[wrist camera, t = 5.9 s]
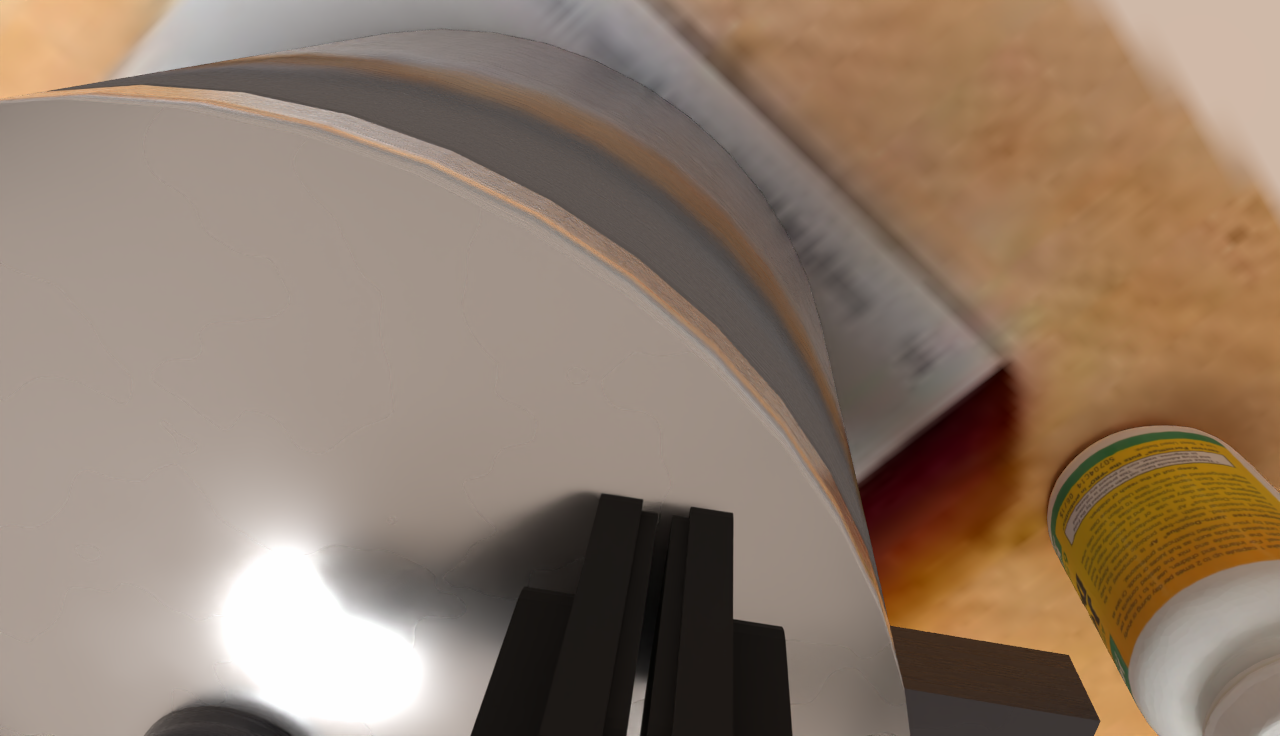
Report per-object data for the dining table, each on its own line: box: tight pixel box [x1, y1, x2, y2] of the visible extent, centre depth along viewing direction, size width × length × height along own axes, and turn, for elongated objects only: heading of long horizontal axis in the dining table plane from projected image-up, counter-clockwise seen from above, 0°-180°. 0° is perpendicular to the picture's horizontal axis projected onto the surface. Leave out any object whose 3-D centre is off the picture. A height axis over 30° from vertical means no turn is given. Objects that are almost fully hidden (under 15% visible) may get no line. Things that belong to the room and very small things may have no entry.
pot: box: [47, 29, 1100, 736], centre depth 21 cm, size 27×20×12 cm
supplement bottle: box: [1047, 425, 1280, 736], centre depth 21 cm, size 5×5×10 cm
